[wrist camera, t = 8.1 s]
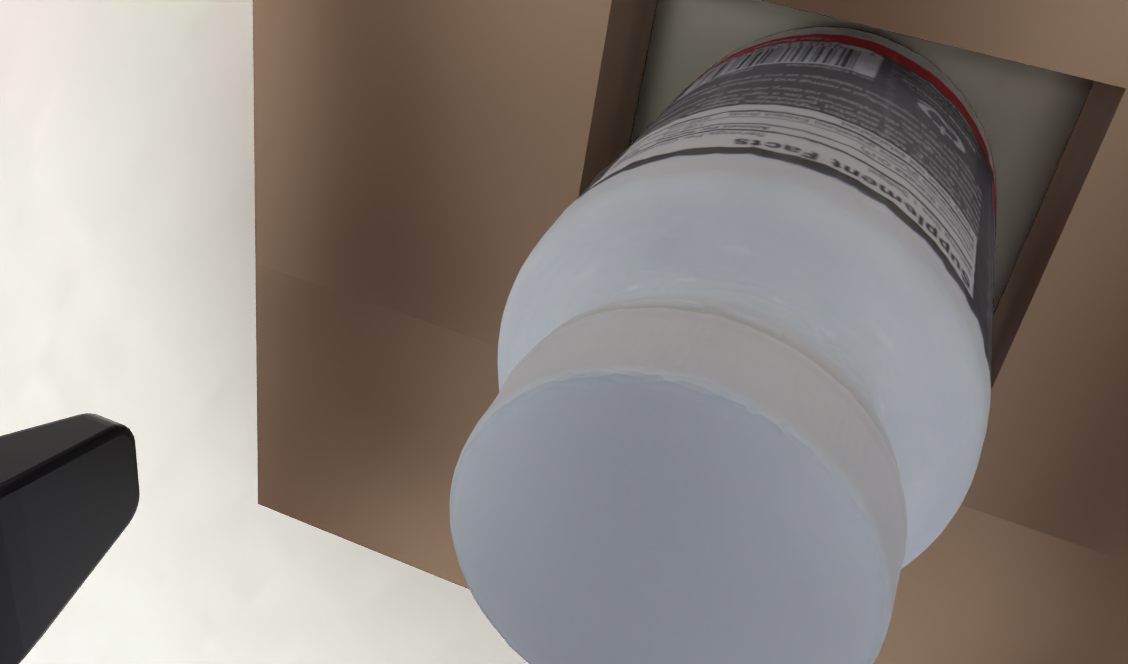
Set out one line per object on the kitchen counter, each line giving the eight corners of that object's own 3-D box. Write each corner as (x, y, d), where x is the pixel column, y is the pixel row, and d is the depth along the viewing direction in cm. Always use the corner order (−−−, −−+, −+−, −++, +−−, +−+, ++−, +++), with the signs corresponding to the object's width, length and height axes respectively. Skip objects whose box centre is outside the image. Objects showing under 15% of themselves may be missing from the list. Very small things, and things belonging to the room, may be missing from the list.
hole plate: (1980, -397, 10) (2223, -436, 8) (1154, 756, 20) (1171, 873, 18) (356, -587, 14) (246, -644, 12) (323, 439, 24) (258, 504, 22)
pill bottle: (876, 389, 18) (766, 882, 10) (612, 236, 19) (309, 592, 11) (1078, 128, 15) (1147, 542, 7) (756, -47, 16) (483, 159, 8)
